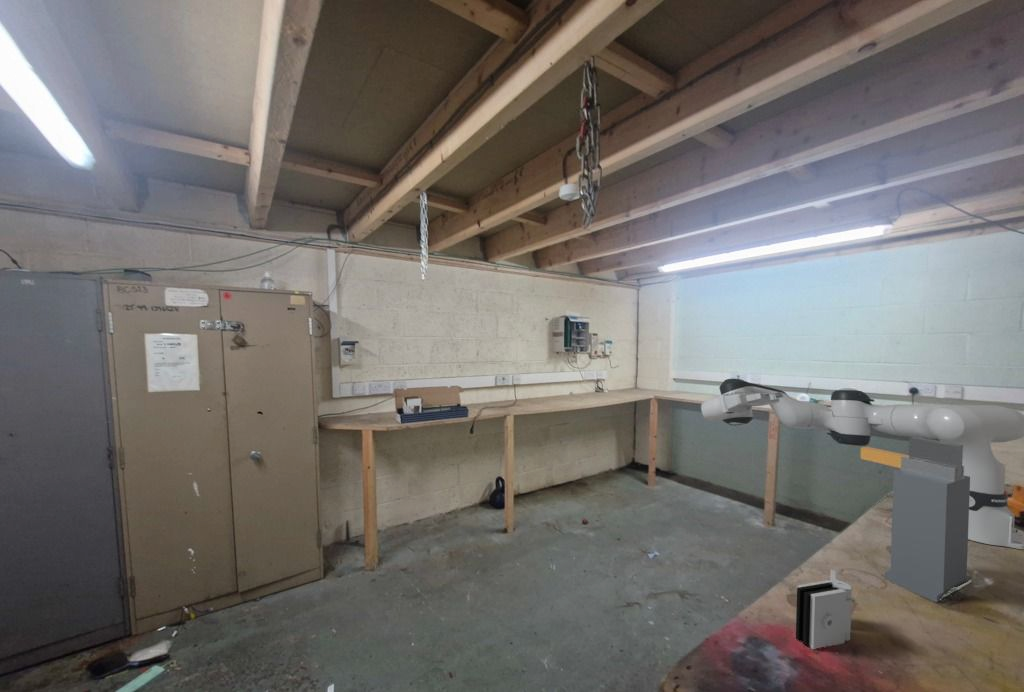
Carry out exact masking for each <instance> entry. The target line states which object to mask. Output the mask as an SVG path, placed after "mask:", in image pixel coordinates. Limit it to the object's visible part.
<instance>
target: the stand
mask: <svg viewBox="0 0 1024 692" xmlns="http://www.w3.org/2000/svg"><path fill="white" fill-rule="evenodd" d="M955 479H956V468H952V467H947V466H943V465H938V464H933V463H929V462H924V461H919V460H915V459H910V458H906V457H901V468H899V469H896V470H894V471H893V479H892V480H893V481H892V508H891V509H892V510H891V511H892V512H891V513H892V515H891V540H890V541H891V542H890V543H891V544H890V545H891V546H890V569H889V570H887V571H884V572H883V579H884V580H886V581H888V582H890V583H892V584H895V585H897V586H899V587H901V588H904V589H906V590H908V591H910V592H913V593H914V594H917V595H919V596H921V597H924V598H925V599H928V600H930V601H932V602H933V603H934V602H935V603H939V602H941V600H940V599H941V598H942V596H943V595H944V594H945V593H947V592H948V591H949V590H950V589H951V588H953V587H958V586H960V585H962V584H964V583H966V582H968V581H969V580H971V579H972V580H973V576H972V575H969V574H968V548H969V546H968V545H969V539H968V523H969V496H970V477H968V476H964V466H962V480H959V481H955Z"/></svg>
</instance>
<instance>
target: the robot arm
mask: <svg viewBox="0 0 1024 692" xmlns="http://www.w3.org/2000/svg"><path fill="white" fill-rule="evenodd" d="M719 391H720V395H719V396H715V397H712V398H709V399H707V400H705V401H704V402H702V403H701V405H700V413H701V414H702V416H703V418H704V419H705V420H706V421H723V422H724V423H726V424H727V425H730V426H742V425H747V424H749V423H751V421H752V420H753V419H754V414H753V407H761V406H768V405H769V407H770V408H771V410H772V411H773V414H774V416H775V417H776V418H777V420H778V421H779V422H780V423H781V424H783V425H784V426H786V427H789V428H793V429H804V430H807V429H808V430H810V429H812V430H813V429H825V430H828V431H829V432H826V434H827V435H829V436H830V437H831V438H832V440H833V441H835V442H837V443H838V444H839V445H842V446H845V447H849V448H862V447H867V446H868V445H869V444H870V441H871V438H872V437H871V435H870V434H871V432H870V431H871V427H872V428H873V429H874V430H876V431H878V432H880V433H884V434H888V435H894V436H900V437H908V438H911V437H920V438H926V439H932V440H935V439H937V440H938V441H943V442H948V443H954V444H960V445H963V459H962V466H964V476H968V477H970V496H969V523H968V541H973V542H977V543H981V544H986V545H992V546H997V547H998V546H999V547H1007V548H1010V549H1011V548H1013V549H1015V550H1016V549H1017V550H1024V530H1022V529H1018V528H1017V527H1015V514H1014V513H1013V512H1012V511H1011V510H1010V508H1009V507H1008V495H1009V494H1008V493H1009V492H1008V490H1005V483H1006V482H1005V481H1006V467H1005V465H1004V464H1003V463H1002V462H1001V461H999V459H997V458H996V456H995V454H994V453H993V449H992V446H991V444H992V443H1006V442H1011V441H1016V440H1018V439H1022V438H1024V414H1023V413H1022V412H1021V411H1019V410H1016V409H1015V408H1010V407H1006V406H1001V405H991V404H988V405H987V404H983V405H982V404H888V405H875V404H872V402H875V400H874V399H872V398H871V397H869V395H868V394H866V393H865V392H863V391H862V390H858V389H856V388H849V387H845V388H844V387H843V388H839V389H838V390H837V389H836V390H834V391H832V392H831V396H830V401H831V402H830V403H831V405H830V407H828V406H827V405H825V404H821V403H817V402H814V401H806V400H799V399H795V398H793V397H792V396H790V395H788V394H787V392H785V391H784V390H780V389H778V388H774V387H770V386H765V385H760V384H756V383H752V382H749V381H746V380H743V379H740V378H727V379H725V380H724V381H722V383H721V384H720V386H719Z"/></svg>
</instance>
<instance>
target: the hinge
mask: <svg viewBox="0 0 1024 692" xmlns="http://www.w3.org/2000/svg"><path fill="white" fill-rule="evenodd" d="M829 572H830V575H829V579H830V580H829V579H828V580H827V579H826V580H821V581H820V580H819V581H815V582H810V583H808V582H807V583H803V584H798V585H797V588H796V612H795V613H796V616H795V618H796V620H795V640H796V639H797V640H796V641H798V640H803V641H802V645H803V644H804V645H805V646H808V647H809V646H810V647H809V648H811V649H812V650H813V649H814V650H817V649H816V648H819V649H821V648H820V647H824V648H827V647H826V646H828V647H833V646H838V645H842V644H845V642H846V641H850V640H851V627H852V625H851V624H852V602H853V601H852V590H853V589H852V588H853V587H852V586H851V585H850V584H849V583H847V582H845V581H842V580H839V579H837V575H836V574H837V571H836V570H834V569H830V571H829ZM804 645H803V646H804ZM832 645H833V646H832ZM805 646H804V647H805Z"/></svg>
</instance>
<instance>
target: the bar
mask: <svg viewBox="0 0 1024 692" xmlns="http://www.w3.org/2000/svg"><path fill="white" fill-rule="evenodd" d="M908 438H909V439H908V443H909V444H908V454H905V453H899V452H896V451H892V450H891V451H890V450H885V449H881V448H877V447H876V448H875V447H871V446H862V447H860V460H863V461H864V460H865V461H868V462H873V463H877V464H882V465H887V466H890V467H893V468H894V467H895V468H898V469H901V457H906V458H910V459H915V460H919V461H924V462H929V463H933V464H938V465H943V466H947V467H952V468H956V479H955V481H959V480H962V459H963V445H960V444H954V443H948V442H943V441H940V440H938V439H937V440H935V439H932V438H921V437H908Z"/></svg>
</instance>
